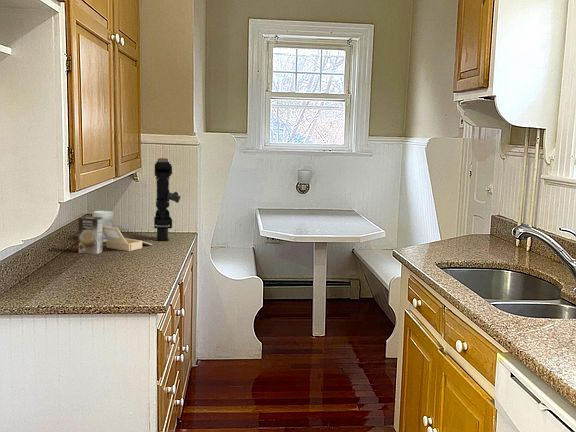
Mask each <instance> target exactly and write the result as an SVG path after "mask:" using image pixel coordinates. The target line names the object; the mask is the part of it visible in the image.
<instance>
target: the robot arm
mask: <svg viewBox="0 0 576 432" xmlns="http://www.w3.org/2000/svg"><path fill="white" fill-rule="evenodd" d="M168 160H169V159H168V158H165V157H164V158H163V157H162V158H161V157H160V158H158V159H157V160H156V162H155V163H154V177H155V180H156V199H155V200H156V201H155V207H156V211H155V216H153V218H154V219H153V221H154V222H153V223H154V224H153V227H154V228H153V229H154V230H155V229H156V238H155V241H158V242H160V241H165V242H166V241H168V242H169V241H170V237H169V229H172V228H173V219H172V216H170V210H169V209H168V208H169V207H170V200H171V201H173V202H174V203H176V204H178V203H179V202H180V200H181V195H179V192H177V191H174V192H170V189H169V186H170V182H169V181H170V177H171V176H172V175H173V166H172V163H170V161H168Z"/></svg>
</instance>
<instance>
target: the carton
mask: <svg viewBox="0 0 576 432" xmlns="http://www.w3.org/2000/svg"><path fill="white" fill-rule="evenodd" d="M124 239H125V240H126V242H127V243H120V242H114V241H108V240H107V242H106V248H107V249H113V250H118V251H123V252H124V251H125V252H133V251H136V250H142V249H143V245H149V246H153V244H154V243H153V244H152V243H150V242H147V241H143V240H141V239H140V240H139V239H134V238H127V237H124Z"/></svg>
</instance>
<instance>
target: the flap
mask: <svg viewBox="0 0 576 432" xmlns="http://www.w3.org/2000/svg"><path fill="white" fill-rule="evenodd" d="M102 233H103V234H104V236H105V237H106V239H107V240H108V241H114V242H120V243H127V242H126V240H125V239H124V238H125V237H124V235H123V234H122V233H121V231H120V229H119V228H118V227H114V226H113V227H108V226H102Z"/></svg>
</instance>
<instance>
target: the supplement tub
mask: <svg viewBox="0 0 576 432" xmlns="http://www.w3.org/2000/svg"><path fill="white" fill-rule="evenodd" d="M92 217H102V226H108V227H114V212H113V211H112V210H96V211H93V216H92ZM102 243H107V239H106V237H105V236H104V234H103V233H102Z"/></svg>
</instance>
